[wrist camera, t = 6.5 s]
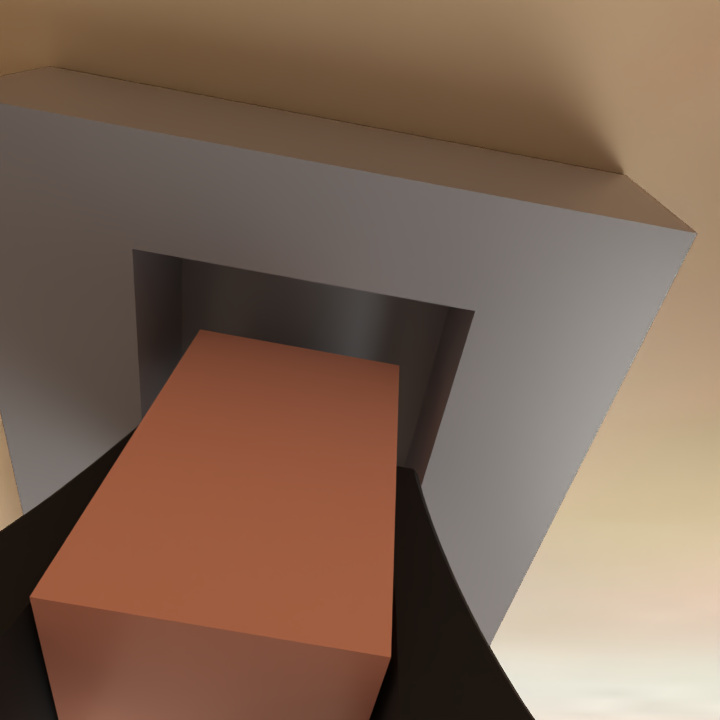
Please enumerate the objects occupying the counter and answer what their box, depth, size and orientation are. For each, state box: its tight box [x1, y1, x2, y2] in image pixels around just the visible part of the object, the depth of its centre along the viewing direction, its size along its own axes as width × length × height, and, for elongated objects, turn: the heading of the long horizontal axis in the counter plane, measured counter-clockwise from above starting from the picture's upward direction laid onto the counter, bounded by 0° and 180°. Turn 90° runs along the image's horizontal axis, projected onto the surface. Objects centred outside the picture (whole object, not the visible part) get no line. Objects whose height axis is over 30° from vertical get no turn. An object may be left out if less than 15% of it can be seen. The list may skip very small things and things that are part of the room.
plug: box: [30, 329, 399, 720], centre depth 10 cm, size 4×4×6 cm
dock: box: [0, 66, 697, 646], centre depth 15 cm, size 12×22×7 cm, turn 171°
